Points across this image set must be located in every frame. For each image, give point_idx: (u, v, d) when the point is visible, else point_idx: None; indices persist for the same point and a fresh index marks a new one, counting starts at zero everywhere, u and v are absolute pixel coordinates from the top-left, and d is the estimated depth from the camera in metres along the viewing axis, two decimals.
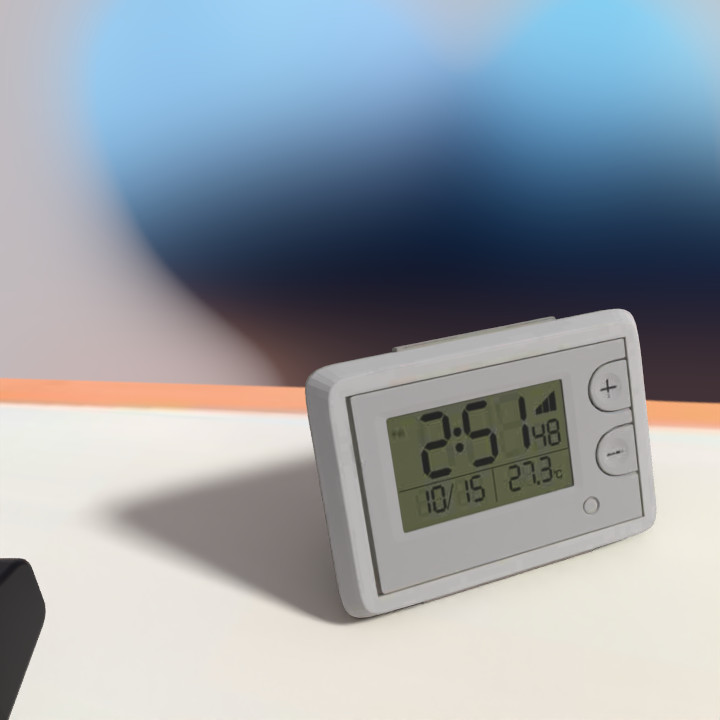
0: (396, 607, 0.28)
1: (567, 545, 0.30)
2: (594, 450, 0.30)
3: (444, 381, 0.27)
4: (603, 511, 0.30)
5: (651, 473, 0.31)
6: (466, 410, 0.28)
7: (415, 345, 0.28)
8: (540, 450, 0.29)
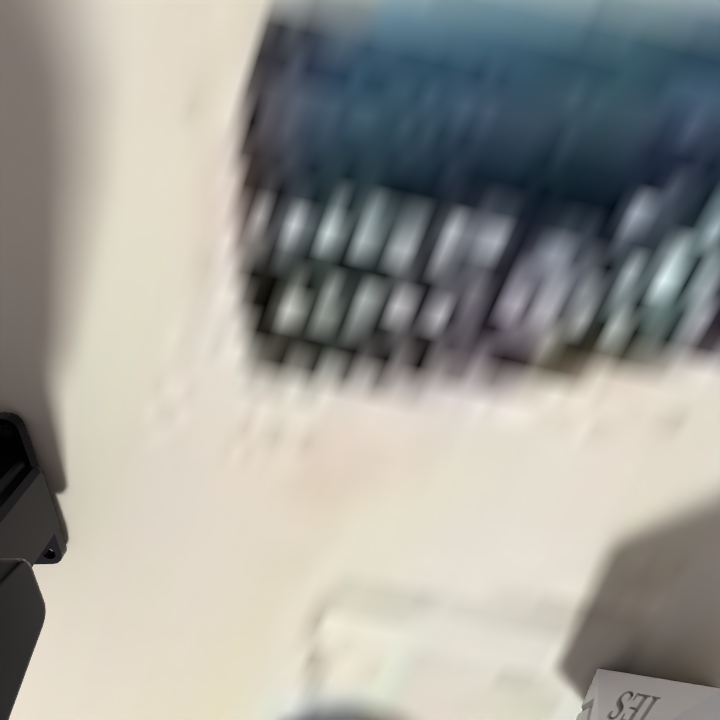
0: None
1: None
2: None
3: None
4: None
5: None
6: None
7: None
8: None
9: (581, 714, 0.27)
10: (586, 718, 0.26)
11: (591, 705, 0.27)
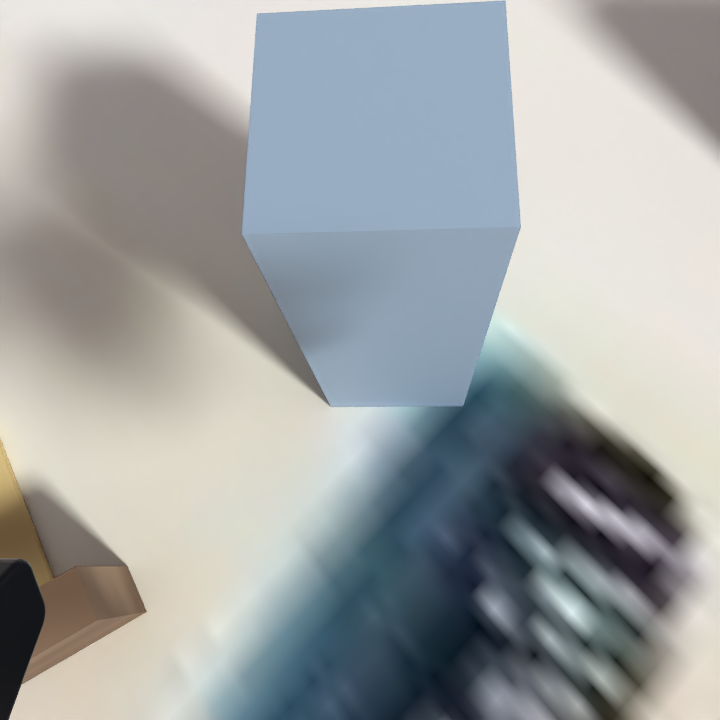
0: None
1: None
2: None
3: None
4: None
5: None
6: None
7: None
8: None
9: None
10: None
11: None
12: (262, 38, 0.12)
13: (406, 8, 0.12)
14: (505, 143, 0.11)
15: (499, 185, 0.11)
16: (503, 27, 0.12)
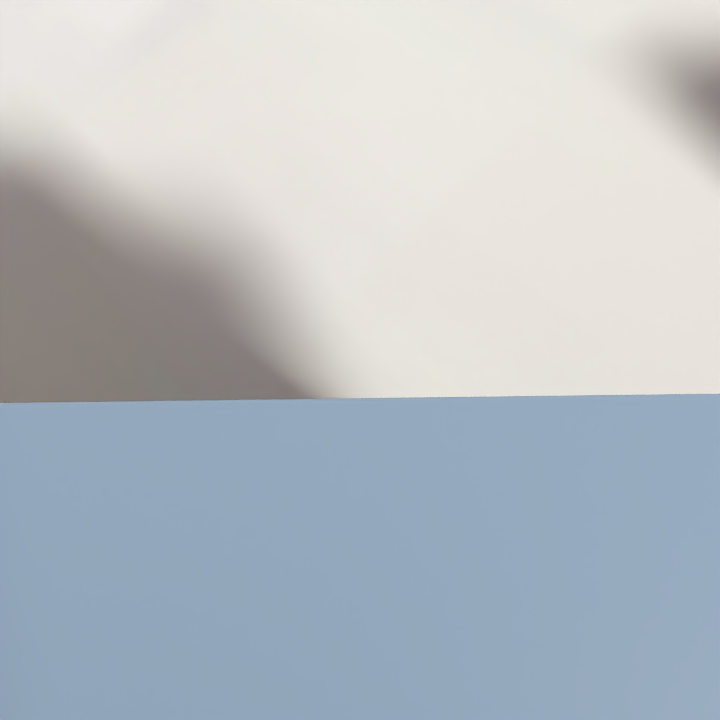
0: None
1: None
2: None
3: None
4: None
5: None
6: None
7: None
8: None
9: None
10: None
11: None
12: None
13: (414, 408, 0.03)
14: None
15: None
16: None
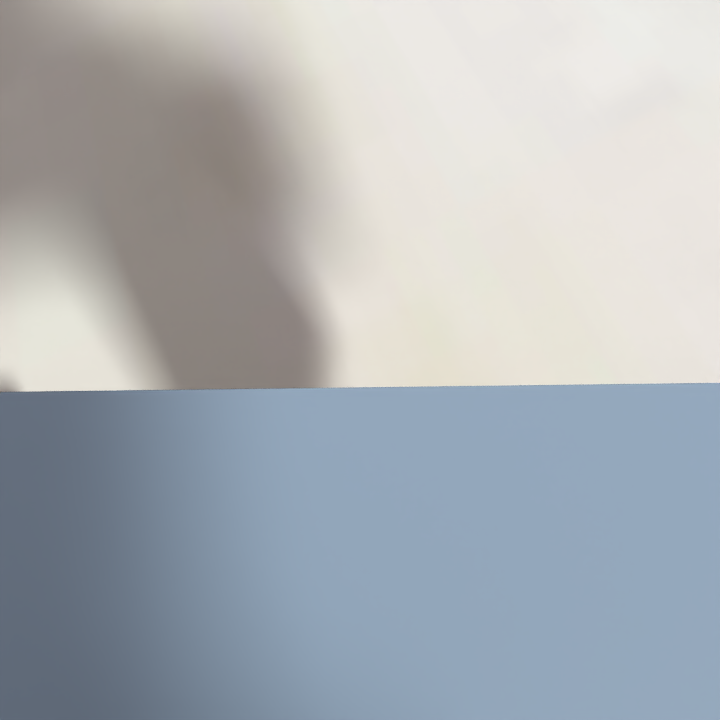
0: None
1: None
2: None
3: None
4: None
5: None
6: None
7: None
8: None
9: None
10: None
11: None
12: None
13: (423, 396, 0.03)
14: None
15: None
16: None
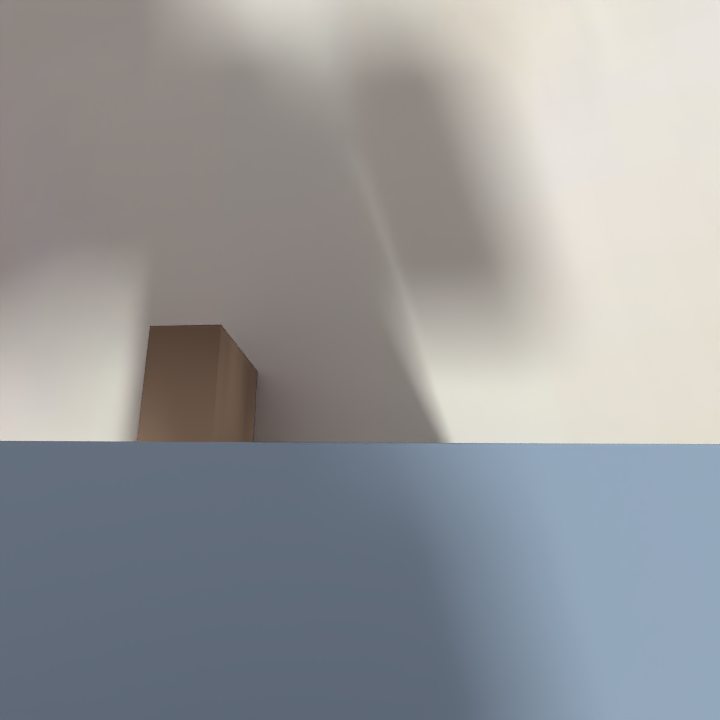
0: None
1: None
2: None
3: None
4: None
5: None
6: None
7: None
8: None
9: None
10: None
11: None
12: None
13: (420, 450, 0.04)
14: None
15: None
16: None
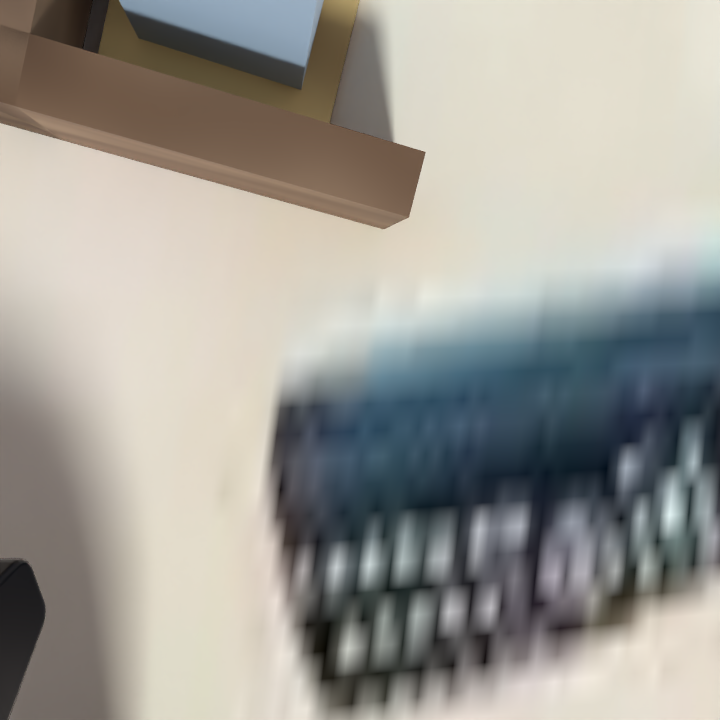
0: None
1: None
2: None
3: None
4: None
5: None
6: None
7: None
8: None
9: None
10: None
11: None
12: None
13: None
14: None
15: None
16: None
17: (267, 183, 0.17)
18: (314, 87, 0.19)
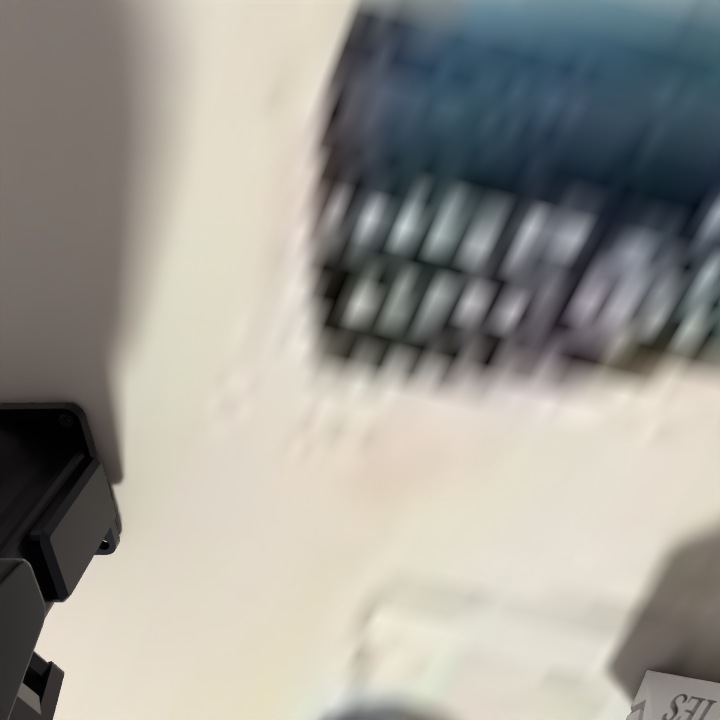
0: None
1: None
2: None
3: None
4: None
5: None
6: None
7: None
8: None
9: (631, 715, 0.27)
10: None
11: (641, 707, 0.26)
12: None
13: None
14: None
15: None
16: None
17: None
18: None
